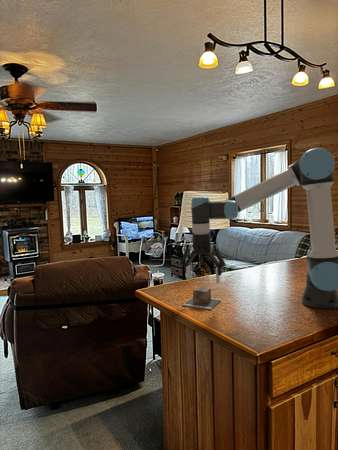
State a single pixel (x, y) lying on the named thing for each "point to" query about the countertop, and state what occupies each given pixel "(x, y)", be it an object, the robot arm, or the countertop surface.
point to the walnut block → (201, 295)
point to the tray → (206, 307)
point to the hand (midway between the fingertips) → (203, 281)
